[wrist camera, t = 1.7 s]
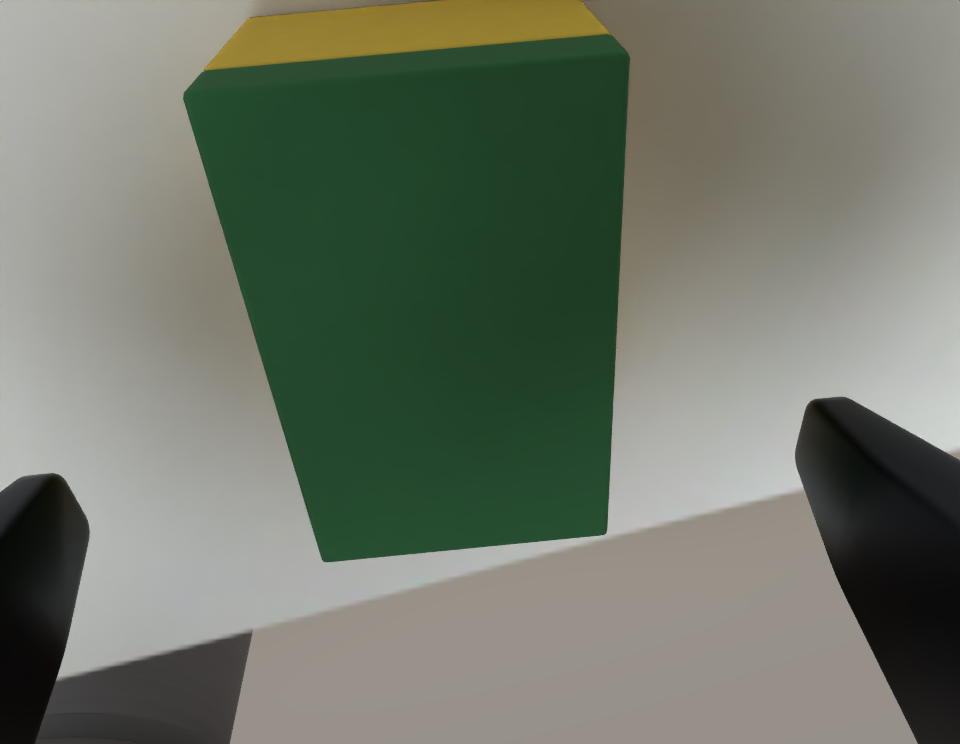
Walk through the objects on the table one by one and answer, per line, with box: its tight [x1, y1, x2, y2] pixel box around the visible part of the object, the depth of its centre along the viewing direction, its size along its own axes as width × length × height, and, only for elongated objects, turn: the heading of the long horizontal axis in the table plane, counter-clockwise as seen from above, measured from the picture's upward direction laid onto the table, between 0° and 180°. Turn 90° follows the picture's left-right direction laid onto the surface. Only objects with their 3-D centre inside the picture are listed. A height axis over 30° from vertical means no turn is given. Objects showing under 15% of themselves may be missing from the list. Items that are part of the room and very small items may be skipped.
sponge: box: [183, 0, 630, 562], centre depth 12 cm, size 8×5×4 cm, turn 4°
